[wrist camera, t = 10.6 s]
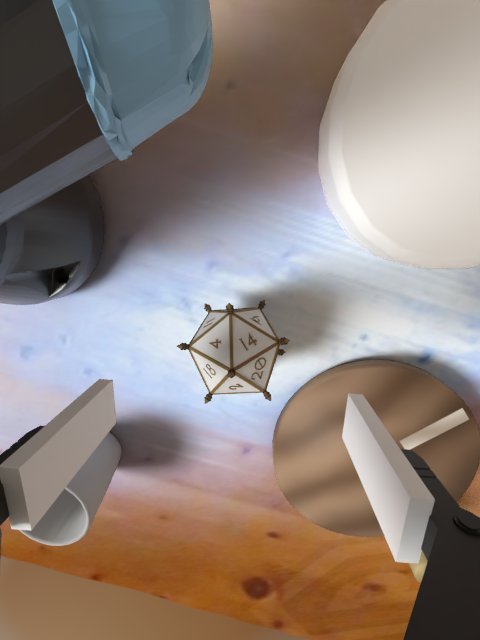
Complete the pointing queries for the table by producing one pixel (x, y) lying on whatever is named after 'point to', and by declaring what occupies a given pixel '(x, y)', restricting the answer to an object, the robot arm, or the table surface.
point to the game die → (235, 351)
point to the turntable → (400, 421)
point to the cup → (79, 498)
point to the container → (408, 135)
